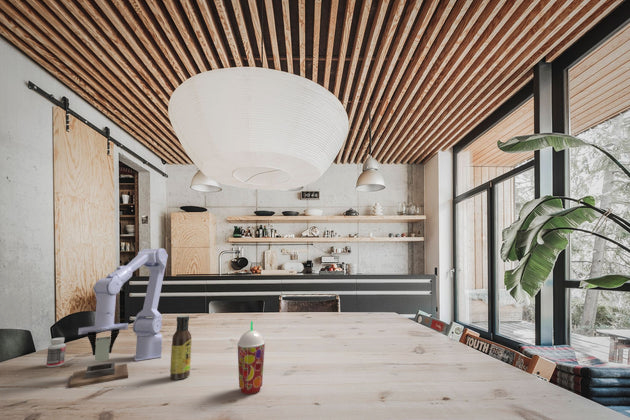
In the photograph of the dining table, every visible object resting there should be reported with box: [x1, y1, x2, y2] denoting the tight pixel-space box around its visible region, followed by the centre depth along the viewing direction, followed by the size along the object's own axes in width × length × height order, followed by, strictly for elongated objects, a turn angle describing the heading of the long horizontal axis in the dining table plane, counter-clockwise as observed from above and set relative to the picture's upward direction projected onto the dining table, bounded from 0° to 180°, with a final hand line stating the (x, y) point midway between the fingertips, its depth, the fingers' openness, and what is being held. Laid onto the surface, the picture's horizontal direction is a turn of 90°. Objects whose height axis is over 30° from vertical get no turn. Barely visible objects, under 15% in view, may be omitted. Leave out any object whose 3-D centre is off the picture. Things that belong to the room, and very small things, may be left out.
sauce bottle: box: [169, 314, 192, 380], centre depth 112 cm, size 6×6×20 cm
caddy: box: [68, 361, 129, 389], centre depth 112 cm, size 16×14×3 cm
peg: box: [94, 336, 111, 363], centre depth 113 cm, size 4×4×7 cm
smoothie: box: [236, 320, 266, 395], centre depth 100 cm, size 8×8×20 cm
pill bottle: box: [46, 337, 67, 368], centre depth 125 cm, size 5×5×10 cm
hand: (102, 353), depth 113 cm, fingers closed on peg, 4 cm apart
